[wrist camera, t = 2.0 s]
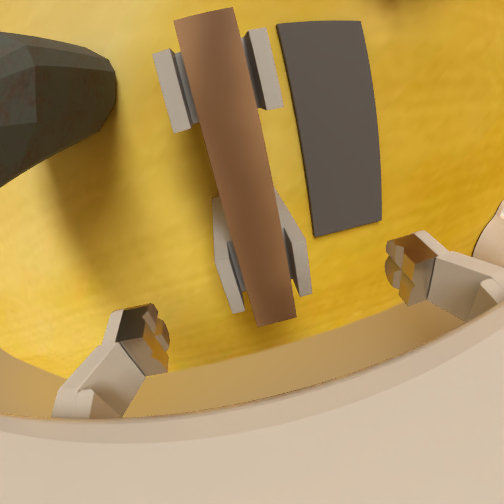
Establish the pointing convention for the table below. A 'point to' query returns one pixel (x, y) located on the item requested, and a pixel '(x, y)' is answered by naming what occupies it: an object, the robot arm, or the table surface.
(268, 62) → the post
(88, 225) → the table surface
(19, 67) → the bottle
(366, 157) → the mat
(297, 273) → the post
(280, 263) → the rail
